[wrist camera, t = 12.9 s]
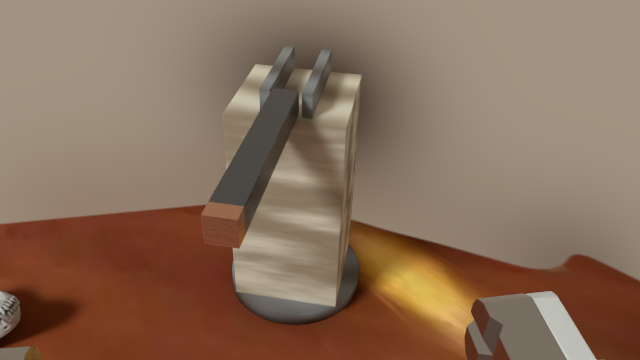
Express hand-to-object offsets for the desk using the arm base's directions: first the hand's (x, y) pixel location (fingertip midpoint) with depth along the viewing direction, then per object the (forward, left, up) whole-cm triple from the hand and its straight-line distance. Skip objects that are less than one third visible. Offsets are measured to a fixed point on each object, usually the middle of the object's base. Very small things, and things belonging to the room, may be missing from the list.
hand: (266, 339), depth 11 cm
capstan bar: (-3, -32, -18) cm, 37 cm away
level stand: (-8, -46, -44) cm, 64 cm away
